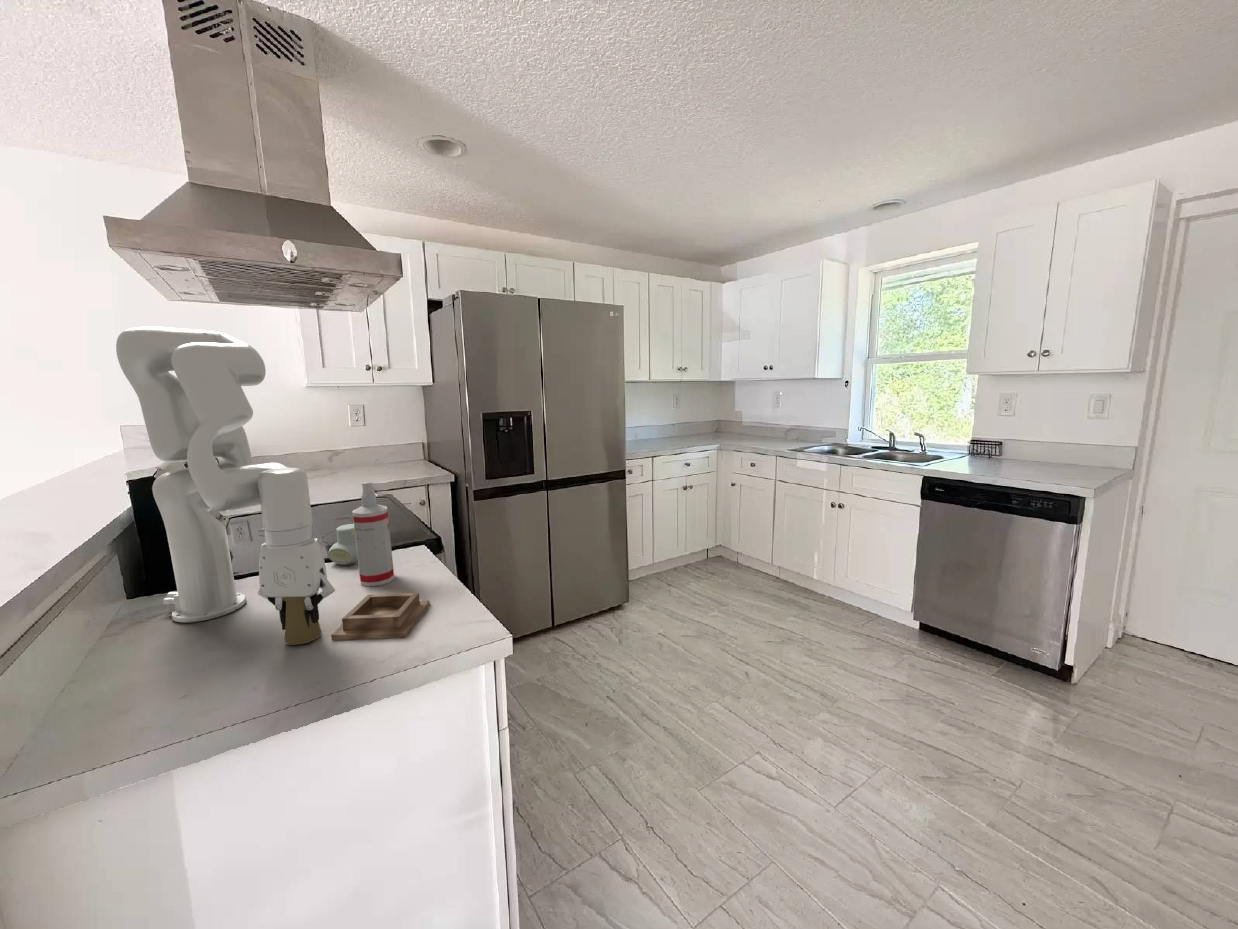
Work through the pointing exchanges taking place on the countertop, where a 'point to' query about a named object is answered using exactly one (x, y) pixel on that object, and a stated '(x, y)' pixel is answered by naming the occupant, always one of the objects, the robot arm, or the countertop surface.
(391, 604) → the walnut holder
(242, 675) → the countertop surface
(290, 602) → the cork
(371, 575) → the white squeeze bottle
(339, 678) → the countertop surface
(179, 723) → the countertop surface
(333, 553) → the pale green rounded piece
